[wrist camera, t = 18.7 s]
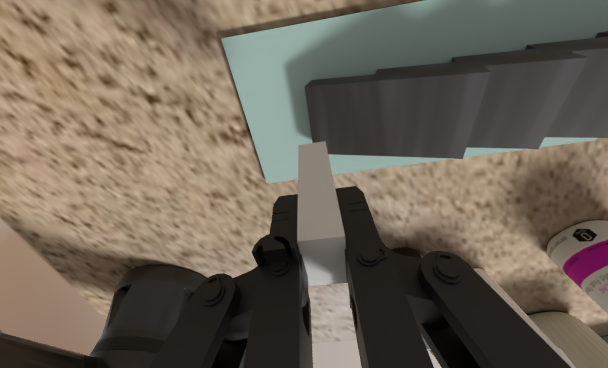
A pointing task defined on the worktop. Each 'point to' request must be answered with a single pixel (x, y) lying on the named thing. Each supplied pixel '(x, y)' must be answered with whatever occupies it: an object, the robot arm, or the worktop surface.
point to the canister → (573, 339)
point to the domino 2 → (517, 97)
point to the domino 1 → (397, 112)
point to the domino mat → (383, 62)
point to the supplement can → (584, 257)
